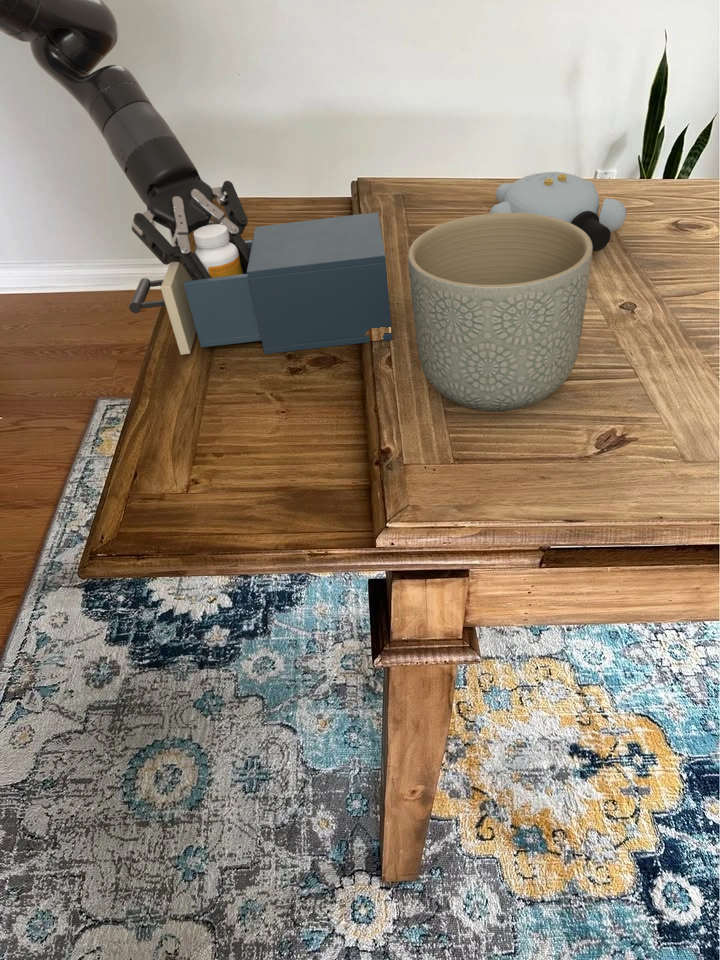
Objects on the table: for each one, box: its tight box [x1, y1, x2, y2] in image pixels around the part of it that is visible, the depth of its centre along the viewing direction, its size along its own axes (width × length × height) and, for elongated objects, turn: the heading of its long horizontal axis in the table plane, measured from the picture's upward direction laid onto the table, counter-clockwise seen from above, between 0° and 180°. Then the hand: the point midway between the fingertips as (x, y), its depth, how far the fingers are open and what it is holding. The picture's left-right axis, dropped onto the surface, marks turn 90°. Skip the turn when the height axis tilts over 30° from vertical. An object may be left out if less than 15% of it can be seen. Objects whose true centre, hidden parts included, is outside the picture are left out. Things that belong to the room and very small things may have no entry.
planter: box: [407, 213, 593, 413], centre depth 73 cm, size 17×17×15 cm
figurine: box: [489, 171, 627, 252], centre depth 103 cm, size 17×8×20 cm
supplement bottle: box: [193, 224, 243, 278], centre depth 88 cm, size 5×5×10 cm
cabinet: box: [247, 211, 393, 355], centre depth 90 cm, size 16×14×11 cm
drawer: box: [128, 239, 262, 356], centre depth 90 cm, size 20×12×9 cm, turn 92°
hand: (227, 274), depth 87 cm, fingers closed on supplement bottle, 5 cm apart
